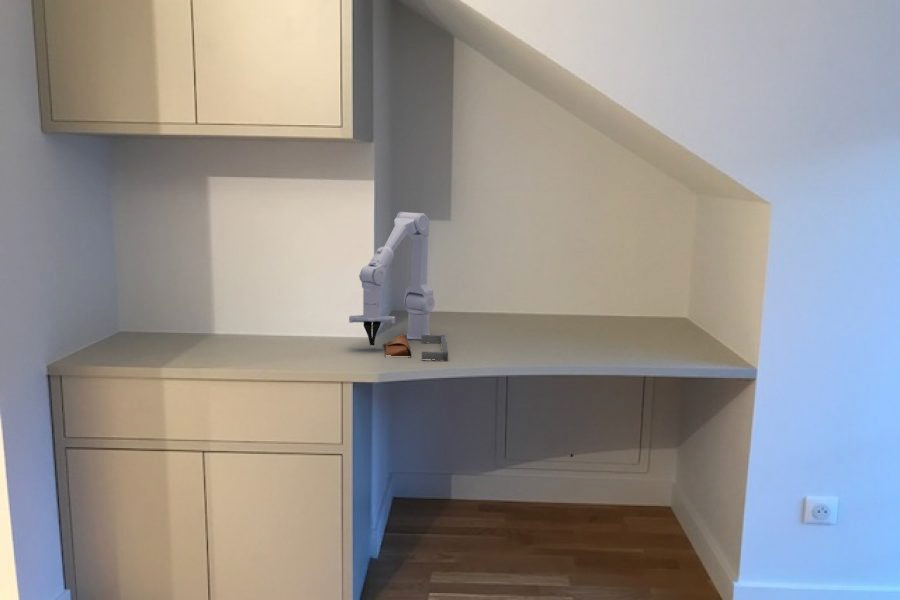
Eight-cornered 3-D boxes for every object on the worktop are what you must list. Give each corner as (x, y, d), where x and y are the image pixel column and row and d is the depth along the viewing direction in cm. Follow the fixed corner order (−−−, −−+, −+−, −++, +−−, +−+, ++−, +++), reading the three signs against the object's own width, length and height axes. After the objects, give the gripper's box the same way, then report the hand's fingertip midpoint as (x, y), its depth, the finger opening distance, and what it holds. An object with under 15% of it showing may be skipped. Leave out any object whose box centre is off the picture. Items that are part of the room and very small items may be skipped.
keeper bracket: (421, 342, 240) (421, 334, 240) (444, 342, 241) (444, 335, 240) (421, 360, 217) (421, 352, 216) (447, 361, 217) (447, 353, 217)
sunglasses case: (380, 343, 236) (391, 327, 236) (398, 354, 238) (409, 337, 237) (384, 358, 219) (395, 339, 218) (403, 368, 220) (414, 350, 220)
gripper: (348, 305, 221) (348, 347, 223) (394, 305, 222) (394, 347, 224) (350, 301, 228) (350, 341, 230) (395, 301, 228) (394, 342, 231)
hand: (372, 344), depth 228 cm, fingers closed
